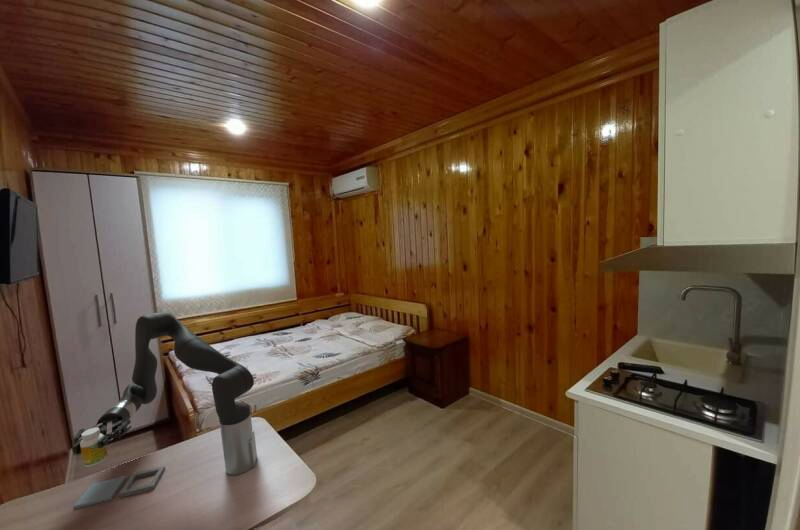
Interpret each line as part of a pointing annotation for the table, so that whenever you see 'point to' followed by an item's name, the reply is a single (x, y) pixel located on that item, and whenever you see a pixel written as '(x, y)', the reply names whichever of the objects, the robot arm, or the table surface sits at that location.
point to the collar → (128, 491)
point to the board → (100, 492)
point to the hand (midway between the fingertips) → (87, 447)
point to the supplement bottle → (92, 447)
